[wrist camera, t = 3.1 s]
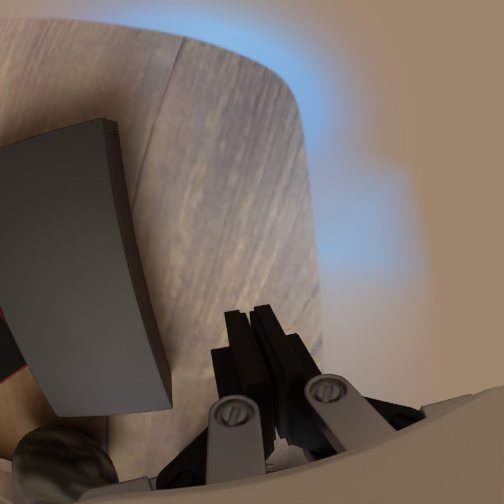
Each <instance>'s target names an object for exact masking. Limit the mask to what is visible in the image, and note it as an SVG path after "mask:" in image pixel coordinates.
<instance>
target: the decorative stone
mask: <svg viewBox="0 0 504 504" xmlns="http://www.w3.org/2000/svg"><path fill="white" fill-rule="evenodd" d="M12 475H13V479H14V482H15V485H16V488H17V491H18V493H19V494H20V496H21V498H22V499H23V500H24V502H25V503H26V504H74V503H76V502H78V499H79V497H80V495H81V494H82V493H83V492H84V491H86V490H88V489H90V488H94V487H99V486H105V485H110V484H115V483H119V479H118V475H117V473H116V470H115V467H114V465H113V463H112V460H111V459H110V457H109V456H108V454H107V453H106V452H105V451H104V450H103V449H102V447H101V446H100V445H99V444H98V443H97V442H95V441H94V440H93V439H91V438H90V437H89V436H87V435H86V434H84V433H82V432H80V431H78V430H75V429H72V428H69V427H65V426H58V425H52V426H43V427H39V428H37V429H35V430H33V431H31V432H29V433H27V434H26V435H25V436H24V437H22V439H21V440H20V441H19V443H18V445H17V447H16V449H15V451H14V453H13V457H12Z"/></svg>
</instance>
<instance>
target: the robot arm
mask: <svg viewBox="0 0 504 504" xmlns="http://www.w3.org/2000/svg"><path fill="white" fill-rule="evenodd" d="M224 315H225V321H226V327H227V334H228V340H229V347H224V348H218V349H212V350H211V356H212V362H213V367H214V373H215V379H216V384H217V390H218V395H219V400H217V401H216V402H215V403H214V404H213V405H212V407H211V408H210V411H209V420H208V427H207V428H206V429H205V430H204V431H203V432H202V433H201V434H200V435H199V436H198V437H197V438H196V439H195V440H194V441H193V442H192V443H191V444H190V445H188V446H187V447H186V448H185V449H184V450H183V451H182V452H181V453H180V454H179V455H178V456H177V457H176V458H175V459H174V460H173V461H171V462H170V463H169V464H168V465H167V466H166V467H165V468H164V469H163V470H162V471H161V472H160V473H159V475H158V476H157V477H153V478H150V479H149V478H148V477H147V476H145V477H141V478H137V479H133V480H128V481H124V482H119V483H115V484H110V485H105V486H99V487H94V488H90V489H88V490H86V491H84V492H83V493H82V494H81V495H80V497H79V499H78V502H76V503H74V504H504V386H498V387H494V388H490V389H487V390H484V391H481V392H479V393H476V394H474V395H470V394H468V395H463V396H459V397H456V398H452V399H449V400H445V401H441V402H437V403H434V404H429V405H426V406H421V408H420V410H416V409H413V408H411V407H407V406H402V405H397V404H393V403H389V402H384V401H380V400H376V399H372V398H368V397H364V396H362V395H361V394H360V393H359V392H358V391H357V390H356V389H355V388H354V387H353V386H352V385H351V384H350V383H349V382H348V381H347V380H346V379H345V378H343V377H341V376H338V375H334V374H321V372H320V370H319V369H318V367H317V365H316V364H315V362H314V360H313V358H312V357H311V355H310V353H309V352H308V350H307V348H306V347H305V345H304V343H303V342H302V340H301V338H300V336H299V335H298V334H297V333H294V334H289V335H285V333H284V331H283V329H282V327H281V325H280V324H279V322H278V320H277V318H276V316H275V314H274V312H273V310H272V308H271V307H270V305H269V304H267V305H261V306H256V307H254V311H250V312H249V315H250V324H251V326H250V324H249V321H248V318H247V316H246V313H240V311H239V310H234V311H228V312H224ZM275 426H276V429H277V432H278V434H279V437H280V439H282V438H286V440H287V443H288V445H295V446H298V447H300V448H303V452H304V455H305V456H306V458H307V459H308V461H309V462H310V463H308V464H304V465H300V466H297V467H293V468H289V469H285V470H281V471H277V472H273V473H269V474H267V466H266V460H267V459H268V458H269V456H270V455H271V454H272V452H273V451H274V440H276V433H275Z"/></svg>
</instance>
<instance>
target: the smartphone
mask: <svg viewBox="0 0 504 504" xmlns="http://www.w3.org/2000/svg"><path fill="white" fill-rule="evenodd" d="M26 366H28V365H27V363H26V361H25V360H24V358H23V356H22V354H21V352H20V350H19V347H18V345H17V343H16V341H15V339H14V337H13V335H12V333H11V330H10V328H9V326H8V324H7V321H6V319H5V317H4V314H3V312H2V309H1V307H0V384H1V383H3V382H4V381H6V380H7V379H9V378H10V377H11V376H13V375H14V374H16V373H17V372H19V371H20V370H22V369H23V368H25V367H26Z"/></svg>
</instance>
